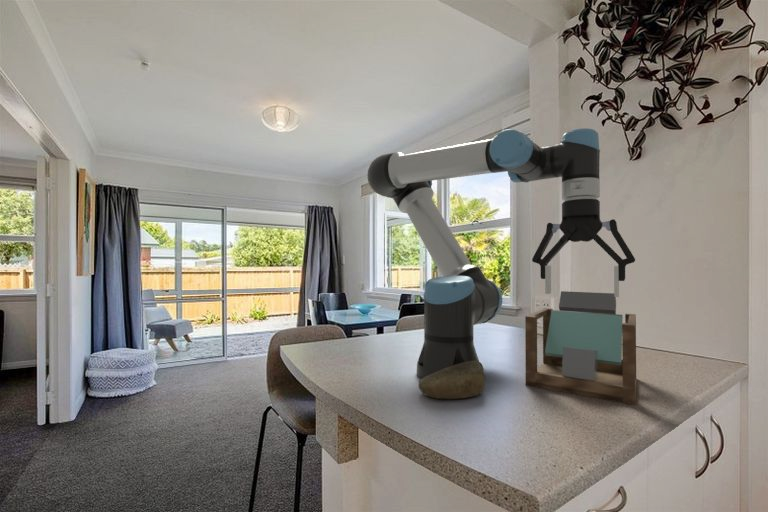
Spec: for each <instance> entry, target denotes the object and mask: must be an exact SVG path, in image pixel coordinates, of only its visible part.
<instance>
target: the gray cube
mask: <svg viewBox="0 0 768 512" xmlns="http://www.w3.org/2000/svg"><path fill="white" fill-rule="evenodd" d="M597 371H598V351H597V350H589V349H581V348H572V347H563V359H562V376H567V377H573V378H579V379H586V380H592V381H595V380H597Z"/></svg>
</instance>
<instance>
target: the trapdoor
mask: <svg viewBox="0 0 768 512" xmlns="http://www.w3.org/2000/svg"><path fill="white" fill-rule="evenodd" d="M558 308H559V309H558V310H557V309H553V310H552V311H551V317H550V323H549V330H548V336H547V342H546V348H545V355H547V356H555V357H562V358H563V347H572V348H581V349H589V350H597V351H598V362H599V363H607V364H614V365H621V360H623V356H622V324H623V320H624V319H623V314H620V313H619V314H618V313H617V297H614V292H613V293H611V292H610V293H609V292H589V291H588V292H585V291H568V290H567V291H565V290H564V291H562V290H561V291H560V295H559V303H558Z"/></svg>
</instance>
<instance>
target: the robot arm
mask: <svg viewBox="0 0 768 512" xmlns="http://www.w3.org/2000/svg"><path fill="white" fill-rule="evenodd" d="M599 137H600V136H599V132H597V131H596V129H594V128H593V129H592V128H576V129H572V130H570V131H566V132H565V133H564V134H563V135H562V136H561V141H560V143H557V144H553V145H548V146H547V145H546V146H542V147H540V146H539V145H538V144H537V143H535V142H534V141H533V140H532V139H530V137H528V135H526V134H525V133H524V132H520V131H519V130H516V129H511V128H509V129H504V130H501V132H498V134H496V135H495V136H494V137H493V138H490V139H485V140H480V141H474V142H467V143H463V144H456V145H453V146H452V145H451V146H447V147H440V148H436V149H429V150H424V151H417V152H414V153H413V152H412V153H407V154H404V153H402V152H400V151H396V152H391V153H385V154H382V155H380V156H377V157H376V158H374V159H373V160H372V161H371V163H370V165H369V167H368V169H367V173H366V174H367V182H368V185H369V187H370V188H371V189H372V190H373V191H374V192H375V194H378V195H379V196H382V197H385V198H389V199H392V200H393V201H394V203H395V204H396V206H397V208H398V210H399V211H400V212H401V213H403V214H406V215H407V216H408V218H409V219H410V221H411V223H412V225H413V226H414V229H415V231H416V232H417V234H418V235H419V237H420V239H421V241H422V243H423V245H424V246H425V248H426V250H427V252H428V253H429V256H430V257H431V259H432V261H433V262H434V264H435V266H436V268H437V269H438V271H439V273H440V275H441V276H436V277H432V278H430V279H428V280H427V281H426V282H425V284H424V293H423V299H424V300H423V304H424V305H423V308H424V309H423V310H424V311H423V313H424V314H423V315H424V316H423V319H424V321H423V324H424V326H423V330H424V331H423V332H424V334H423V335H424V336H423V337H424V338H423V344H422V347H421V351H420V353H419V357H418V359H417V363H416V375H417V376H418V377H419V378H421V379H422V378H424V377H426V376H428V375H430V374H433V373H435V372H437V371H439V370H442V369H444V368H447V367H450V366H453V365H456V364H459V363H463V362H467V361H479V362H480V360H479V356H478V353H477V350H476V347H475V344H474V343H475V342H474V326H475V325H481V324H485V323H488V322H489V321H491V320H493V319H494V318H496V317H497V316H498V315H499V313H500V312H501V309H502V306H503V295H502V292H501V289H500V288H499V286H498V284H496V283H495V282H493V281H492V280H489V279H487V277H486V276H485V274H484V273H483V271H482V268H480V266H478V265H474V264H472V263H471V262H470V260H469V259H468V257H467V255H466V254H465V252H464V250H463V248H462V247H461V245H460V243H459V242H458V240H457V238H456V236H455V234H454V233H453V232H452V230H451V229H450V227H449V225H448V223H447V222H446V220H445V218H444V217H443V215H442V214H441V212H440V210H439V208H438V206H437V204H435V201H434V200H433V197H434V190H433V189H432V186H433V182H432V181H439V180H448V179H454V178H463V177H469V176H477V175H484V174H485V175H487V174H493V173H494V174H495V173H504V172H507V175H508V177H509V178H510V181H511V182H513V183H529V182H535V181H542V180H547V179H548V180H549V179H555V178H557V179H558V178H561V200H562V201H563V202H562V204H561V222H560V223H552V222H548V223H547V224H546V232H545V234H544V235H543V237H542V239H541V242H540V243H539V244H538V247H537V248H536V251H535V253H534V255H533V257H532V258H531V261H532V262H533V263H535V264H538V265H539V266H540V279H541V280H544V284H545V285H544V286H545V287H544V290H545V291H544V293H545V294H546V295H548V294H549V295H550V294H552V265H548V264H549V263H550V262H551V261H552V260H553V258H554V257H556V256H557V254H558V253H559V252H560V251H561V249H563V248H564V246H565V245H566V244H567V243H569V241H570V242H572V243H578V242H585V243H587V242H591V241H592V240H593V241H594V242H595V243H596V244H597V245H599V246H600V248H601V249H602V250H604V252H606V253H607V254H608V256H609V257H610V258H612V260H613V261H615V262H616V264H617V265H613V266H614V267H613V276H614V278H613V280H614V281H613V285H614V286H613V287H614V290H613V291H614V292H613V293H614V297H616V298H619V297H620V282H624V281H625V280H626V266H627V265H630V264H633V263H635V262H636V257H634V255H633V253H632V251H631V250H630V248H629V247H628V245H627V243H626V241H625V240H624V238H623V237H622V235H621V233H620V231H619V230H618V229H619V228H618V224H617V221H616V220H615V219H610V220H606V221H602V220H601V213H600V212H601V210H600V209H601V208H600V207H601V204H600V203H601V202H600V200H599V199H598V198H600V195H601V193H600V192H601V191H600V190H601V189H600V187H601V186H600V182H601V181H600V154H601V149H600V142H599ZM602 228H605V229H606V231H608V232H611V234H612V236H613V238H614V239H615V241H616V243H617V244H618V246H619V247H620V249H621V251H622V252H623V255H624V256H625V257H626V258H624V259H623V258H622V257H621V256H620V255H619V254H618V253H617V252H616V251H615V250H614V249H613V248H612V247H611V246H610V245H608V243H606V241H605V240H604V239H602V237H601V236H600V235H599V232H600V231H601V230H602ZM558 230H560V231H561V233H563V235H562V236H561V237H560V238H559V240H558V241H557V242H556V243H555V244H554V246H552V248H551V249H550V250H549V251H548V252H547V253H546V254H545V256H544V257H543V255H544V253H545V251H546V249H547V248H548V245H549V244H550V242H551V240H552V238H553V236H554V234H555V233H557V232H558ZM542 257H543V258H542Z"/></svg>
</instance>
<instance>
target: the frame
mask: <svg viewBox="0 0 768 512" xmlns="http://www.w3.org/2000/svg"><path fill="white" fill-rule="evenodd" d="M552 310H554V309H553V308H549V307H548V308H547V307H544V308H542V309H540V310H537V311H535V312H533V313H530V314H528V315H526V316H525V325H524V326H525V328H524V331H525V385H526V386H529V387H535V388H540V389H541V388H542V389H545V390H552V391H558V392H562V393H568V394H573V395H578V396H583V397H584V396H585V397H591V398H596V399H600V400H601V399H602V400H604V401H605V400H606V401H610V402H611V401H612V402H616V403H617V402H618V403H623V404H628V405H634V406H636V403H637V402H636V400H637V399H636V397H637V396H636V395H637V394H636V393H637V332H636V331H637V319H636V317H637V315H636V313H625V315H624V316H625V317H624V318H625V319H624V321H625V322H624V323H623V322H622V360H621V365H614V364H607V363H599V362H598V371H597V380H595V381H592V380H586V379H579V378H573V377H567V376H562V359H563V358H562V357H555V356H547V355H545V348H546V342H547V336H548V330H549V323H550V317H551V311H552ZM540 318H542V363H541V364H540V365H539V367H538V320H539V319H540Z"/></svg>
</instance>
